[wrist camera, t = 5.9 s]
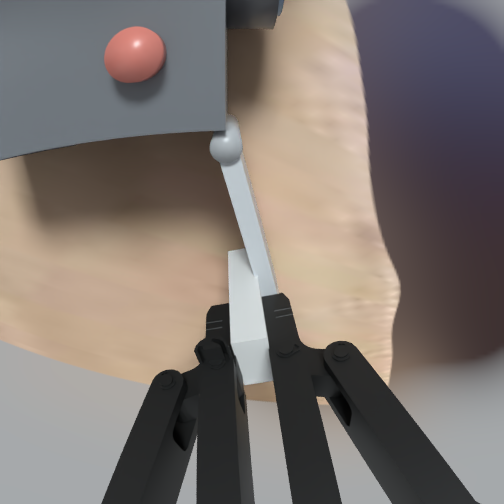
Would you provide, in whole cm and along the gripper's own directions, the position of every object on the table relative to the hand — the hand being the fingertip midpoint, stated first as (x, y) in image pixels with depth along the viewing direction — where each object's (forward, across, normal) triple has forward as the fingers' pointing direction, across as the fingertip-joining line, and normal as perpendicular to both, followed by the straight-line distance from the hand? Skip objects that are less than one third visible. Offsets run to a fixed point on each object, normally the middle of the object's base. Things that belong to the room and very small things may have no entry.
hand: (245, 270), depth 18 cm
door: (+4, +1, +2) cm, 4 cm away
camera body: (+4, -4, +14) cm, 15 cm away
